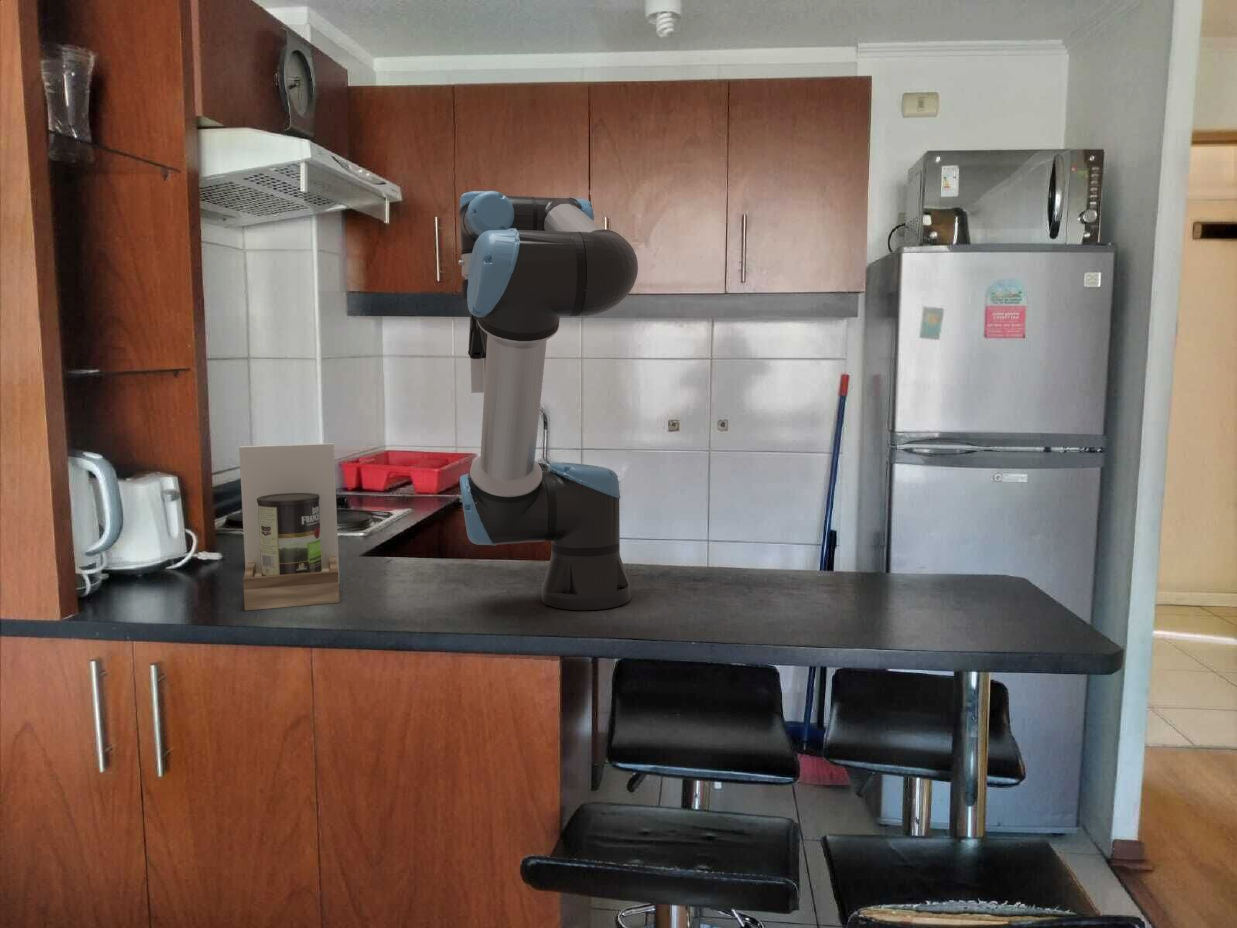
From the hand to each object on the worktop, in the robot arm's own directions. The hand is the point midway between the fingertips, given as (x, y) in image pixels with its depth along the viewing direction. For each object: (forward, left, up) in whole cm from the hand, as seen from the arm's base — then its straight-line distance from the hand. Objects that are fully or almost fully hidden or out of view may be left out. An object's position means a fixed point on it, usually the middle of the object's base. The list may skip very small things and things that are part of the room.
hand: (484, 393), depth 175 cm
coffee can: (-4, +36, -31) cm, 48 cm away
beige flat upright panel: (+3, +36, -35) cm, 50 cm away
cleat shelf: (-5, +36, -35) cm, 50 cm away
